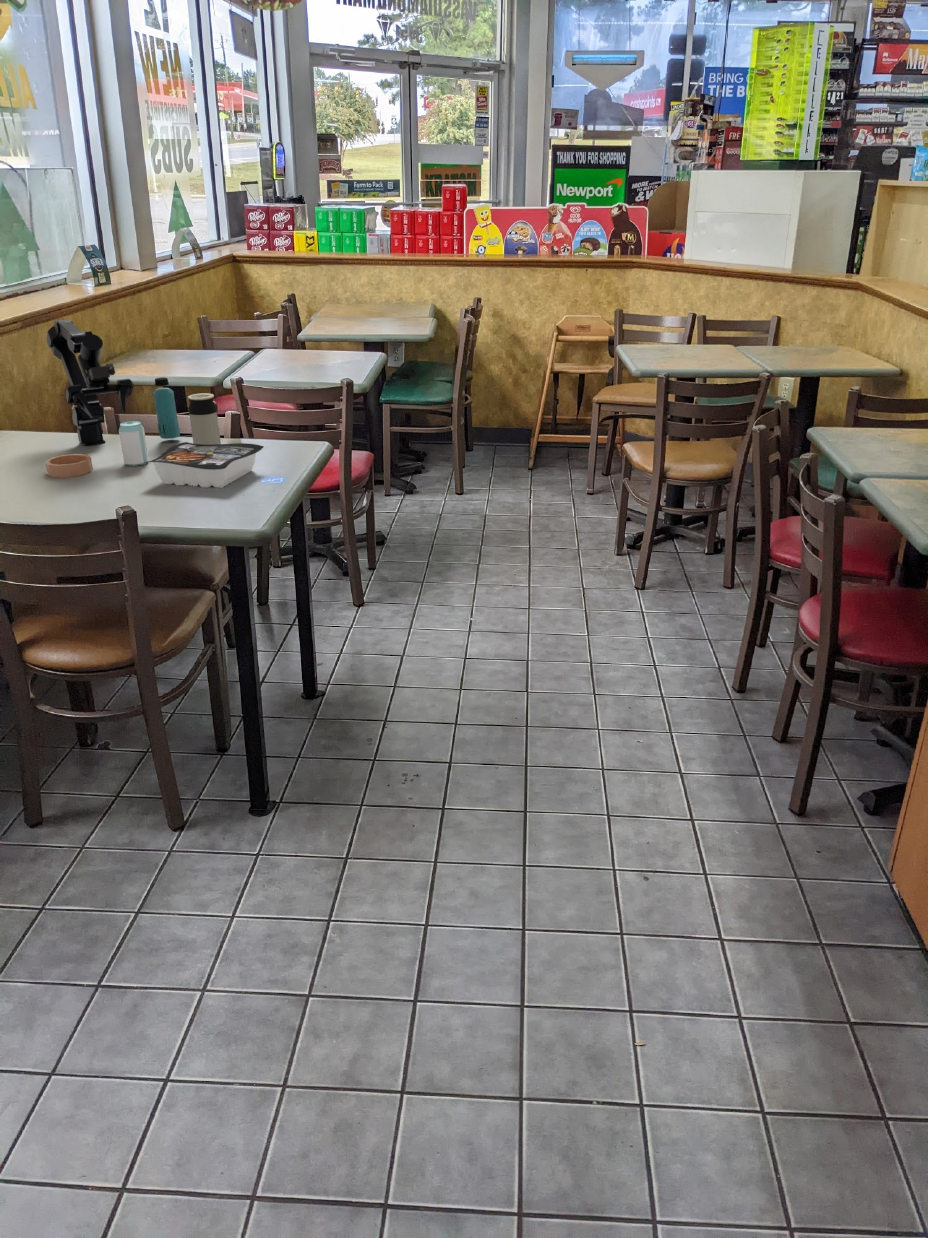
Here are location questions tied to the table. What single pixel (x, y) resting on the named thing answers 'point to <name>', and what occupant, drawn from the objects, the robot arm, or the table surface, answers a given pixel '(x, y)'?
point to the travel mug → (204, 419)
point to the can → (133, 443)
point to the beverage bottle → (166, 410)
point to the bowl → (69, 465)
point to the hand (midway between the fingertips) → (108, 415)
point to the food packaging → (205, 463)
